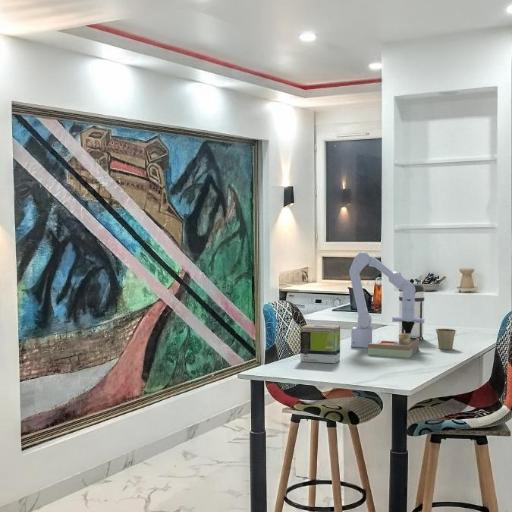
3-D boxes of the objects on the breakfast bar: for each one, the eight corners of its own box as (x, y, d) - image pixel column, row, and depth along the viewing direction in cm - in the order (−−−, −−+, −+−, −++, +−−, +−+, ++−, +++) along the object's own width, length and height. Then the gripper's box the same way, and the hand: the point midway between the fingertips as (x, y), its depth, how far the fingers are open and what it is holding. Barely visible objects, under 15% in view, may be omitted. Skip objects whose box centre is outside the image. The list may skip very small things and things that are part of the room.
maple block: (398, 344, 359) (399, 334, 358) (400, 342, 363) (400, 332, 363) (408, 344, 357) (409, 334, 357) (410, 343, 361) (410, 333, 361)
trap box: (368, 354, 347) (368, 343, 347) (379, 346, 369) (380, 336, 369) (409, 357, 340) (409, 346, 340) (418, 349, 363) (418, 338, 362)
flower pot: (456, 350, 361) (456, 331, 360) (435, 349, 362) (435, 331, 362) (455, 347, 370) (455, 329, 369) (434, 346, 372) (435, 328, 371)
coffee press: (433, 339, 394) (435, 279, 393) (411, 341, 385) (412, 280, 384) (408, 335, 409) (409, 277, 407) (386, 337, 400) (387, 278, 398)
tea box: (340, 360, 333) (340, 325, 332) (334, 364, 324) (335, 328, 323) (306, 358, 338) (306, 323, 337) (299, 361, 329) (299, 326, 328)
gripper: (425, 308, 367) (425, 337, 368) (394, 307, 373) (394, 335, 373) (423, 310, 361) (422, 339, 361) (391, 308, 366) (391, 337, 367)
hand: (408, 337), depth 367 cm, fingers closed
